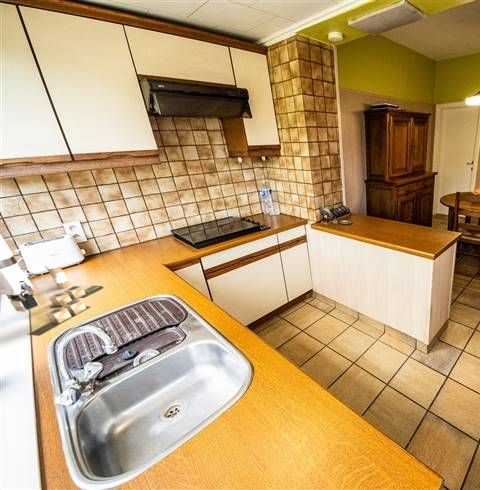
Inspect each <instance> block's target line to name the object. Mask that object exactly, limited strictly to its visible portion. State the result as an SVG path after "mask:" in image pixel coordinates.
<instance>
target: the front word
mask: <svg viewBox="0 0 480 490" xmlns="http://www.w3.org/2000/svg"><path fill="white" fill-rule="evenodd" d="M90 308H91V306H89V305H88V306H87V305H85V303H84V301H83V300H82V299H77V300H72V301H70V302H68V303H66V304H64V305H63V307H61V308H53V310H50V311H49V312H47V313H45V316H46V317H47V318H48V320H49V321H50V322H48V323H46V324H44V325H43V326H40V327H39V328H36V329H35V330H33V331H32V332H29V333H28V334H27V335H28V336H38V337H40V336H42V335H43V334H45V333H47V332H49V331H51V330H53V329H54V328H56V327H58V326H60V325H61V324H64V323H66V322H67V321H69V320H70V319H72V318H75V317H76V316H78V315H80V314H81V313H83V312H85V311H86V310H89V309H90Z"/></svg>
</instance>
